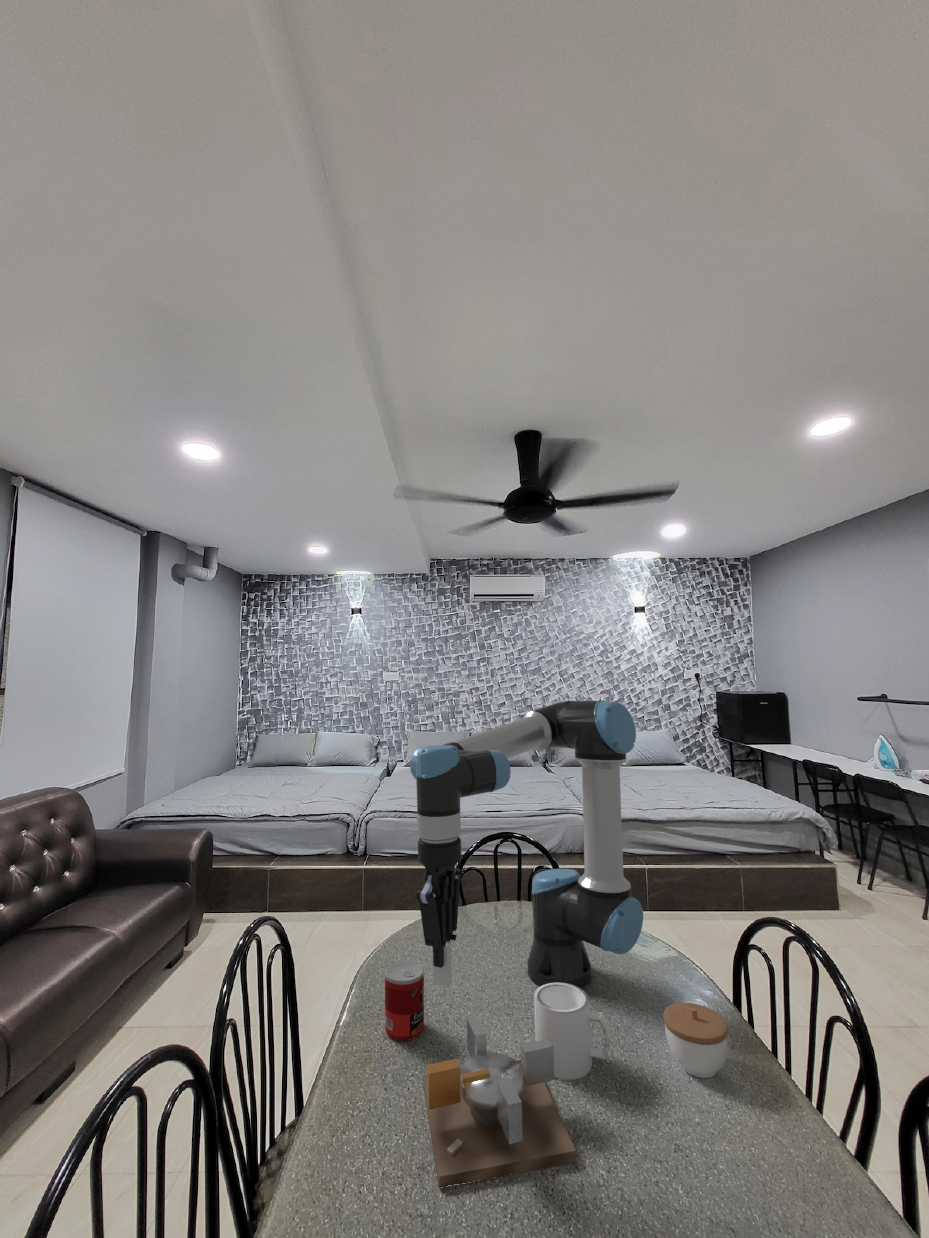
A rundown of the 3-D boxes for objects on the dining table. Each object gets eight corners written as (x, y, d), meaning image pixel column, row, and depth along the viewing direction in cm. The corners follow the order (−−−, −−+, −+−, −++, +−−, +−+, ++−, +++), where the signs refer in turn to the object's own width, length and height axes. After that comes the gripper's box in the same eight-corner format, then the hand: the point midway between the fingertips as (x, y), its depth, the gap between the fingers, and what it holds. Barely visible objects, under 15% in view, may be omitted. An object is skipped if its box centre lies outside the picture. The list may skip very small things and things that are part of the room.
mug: (612, 1050, 100) (609, 989, 102) (609, 1088, 91) (606, 1020, 92) (540, 1037, 105) (538, 978, 106) (531, 1073, 95) (529, 1008, 96)
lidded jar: (726, 1052, 99) (722, 998, 100) (735, 1093, 89) (730, 1032, 90) (665, 1041, 103) (662, 988, 104) (667, 1080, 93) (663, 1021, 94)
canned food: (418, 1043, 103) (417, 982, 105) (379, 1039, 105) (379, 978, 106) (428, 1019, 111) (428, 963, 112) (392, 1016, 112) (392, 959, 114)
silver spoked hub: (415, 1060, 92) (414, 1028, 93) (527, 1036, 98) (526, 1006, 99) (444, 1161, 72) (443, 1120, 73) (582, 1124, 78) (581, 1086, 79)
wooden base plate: (533, 1066, 96) (532, 1042, 97) (576, 1161, 77) (575, 1131, 77) (423, 1084, 93) (422, 1059, 93) (439, 1188, 73) (438, 1156, 74)
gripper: (437, 826, 100) (440, 960, 97) (401, 845, 88) (403, 999, 85) (473, 829, 97) (478, 968, 94) (441, 850, 85) (445, 1010, 82)
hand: (442, 983), depth 90 cm, fingers closed
